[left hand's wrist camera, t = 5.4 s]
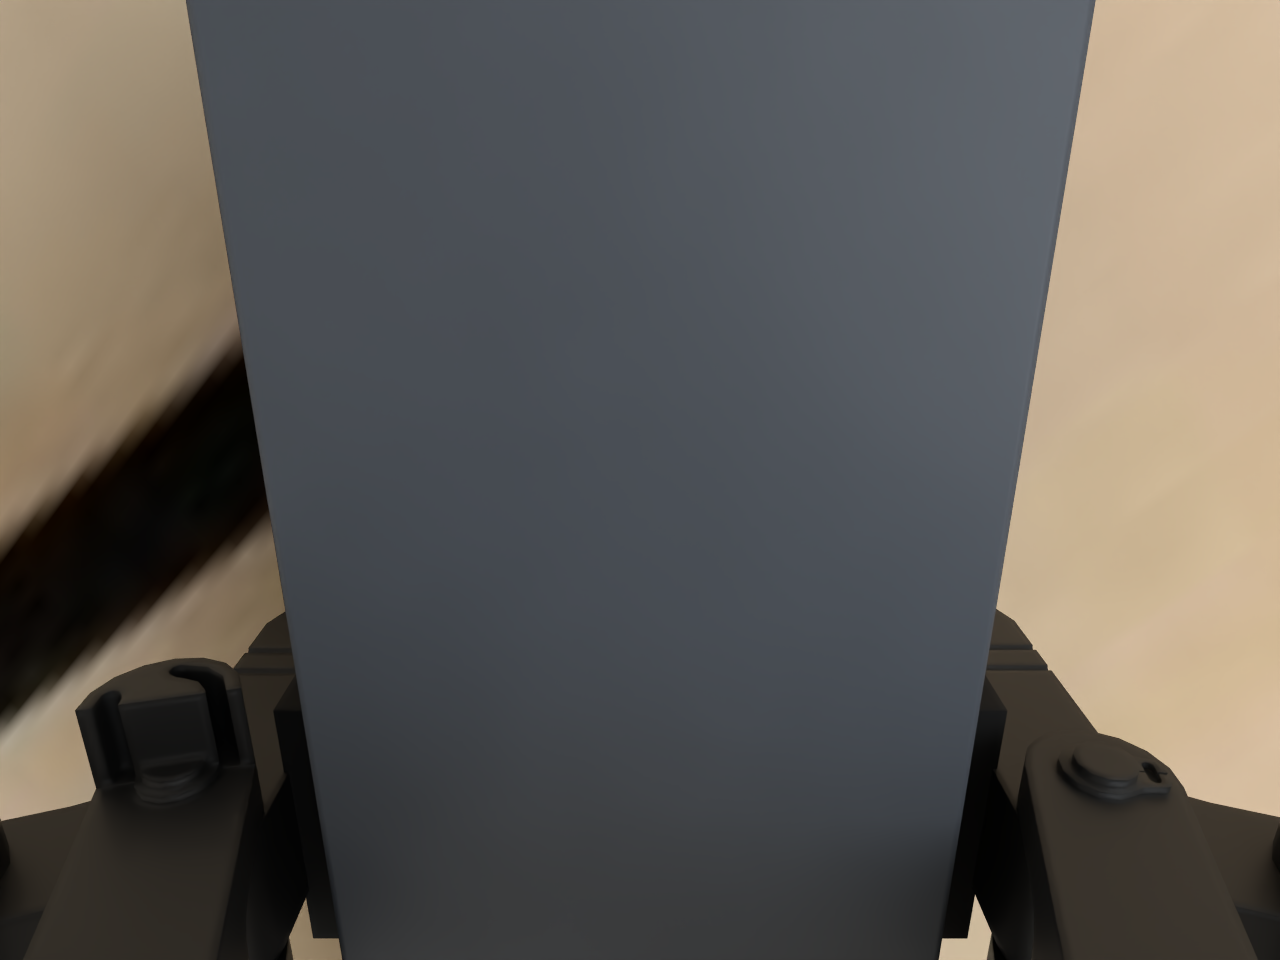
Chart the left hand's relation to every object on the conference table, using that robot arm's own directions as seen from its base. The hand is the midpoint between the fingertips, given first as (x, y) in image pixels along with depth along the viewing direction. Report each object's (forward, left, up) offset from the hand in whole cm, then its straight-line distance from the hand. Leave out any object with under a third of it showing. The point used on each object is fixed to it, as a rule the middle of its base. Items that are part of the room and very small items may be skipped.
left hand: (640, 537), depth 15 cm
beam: (+24, 0, -1) cm, 24 cm away
